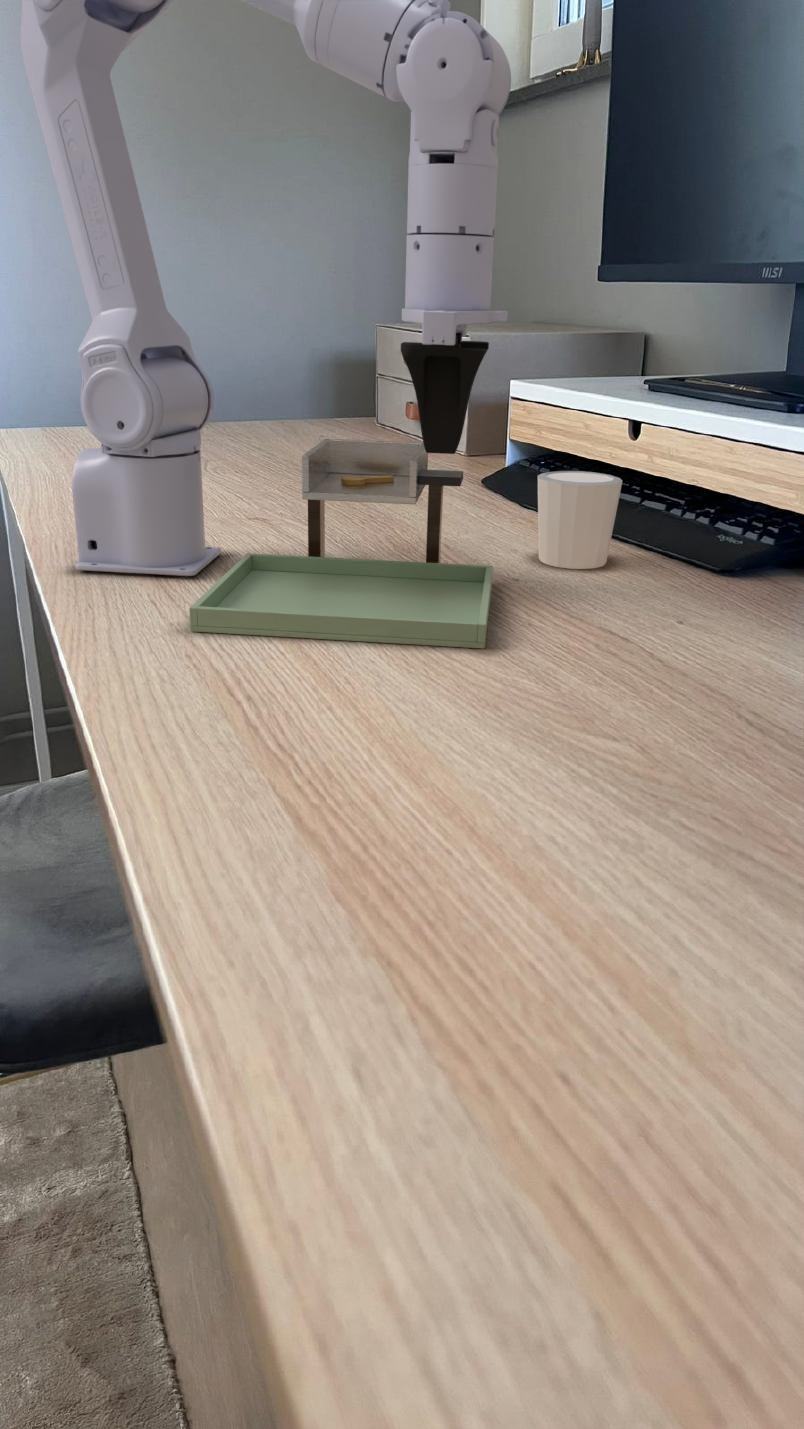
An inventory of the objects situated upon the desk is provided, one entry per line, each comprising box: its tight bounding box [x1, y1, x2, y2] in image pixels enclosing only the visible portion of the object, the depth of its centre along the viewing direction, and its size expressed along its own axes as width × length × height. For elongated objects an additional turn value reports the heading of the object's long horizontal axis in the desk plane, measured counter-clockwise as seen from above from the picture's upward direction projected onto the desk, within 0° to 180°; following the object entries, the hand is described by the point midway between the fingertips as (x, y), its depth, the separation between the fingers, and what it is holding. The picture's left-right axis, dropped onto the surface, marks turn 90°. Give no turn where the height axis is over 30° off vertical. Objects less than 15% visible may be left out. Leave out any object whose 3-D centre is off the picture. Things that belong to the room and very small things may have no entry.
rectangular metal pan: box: [301, 438, 464, 506], centre depth 75 cm, size 11×9×3 cm
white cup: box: [537, 470, 623, 570], centre depth 86 cm, size 7×7×7 cm
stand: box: [307, 485, 444, 563], centre depth 81 cm, size 10×2×8 cm, turn 84°
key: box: [341, 475, 394, 485], centre depth 76 cm, size 4×2×1 cm, turn 114°
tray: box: [188, 552, 494, 650], centre depth 72 cm, size 19×15×2 cm
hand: (441, 450), depth 72 cm, fingers closed
